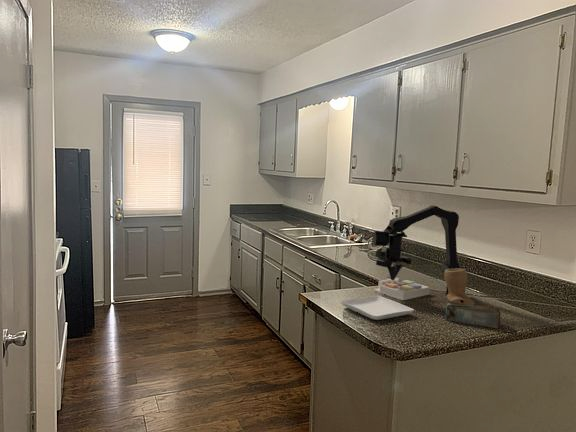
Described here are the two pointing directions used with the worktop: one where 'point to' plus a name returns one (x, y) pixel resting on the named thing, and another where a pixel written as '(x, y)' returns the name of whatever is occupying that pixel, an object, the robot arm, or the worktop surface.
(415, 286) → the key slate
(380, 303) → the salad plate
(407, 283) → the key sage
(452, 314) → the weathered grey rectangular box
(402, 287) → the block
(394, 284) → the key terracotta
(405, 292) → the keypad
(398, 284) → the key charcoal
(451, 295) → the tan boot
